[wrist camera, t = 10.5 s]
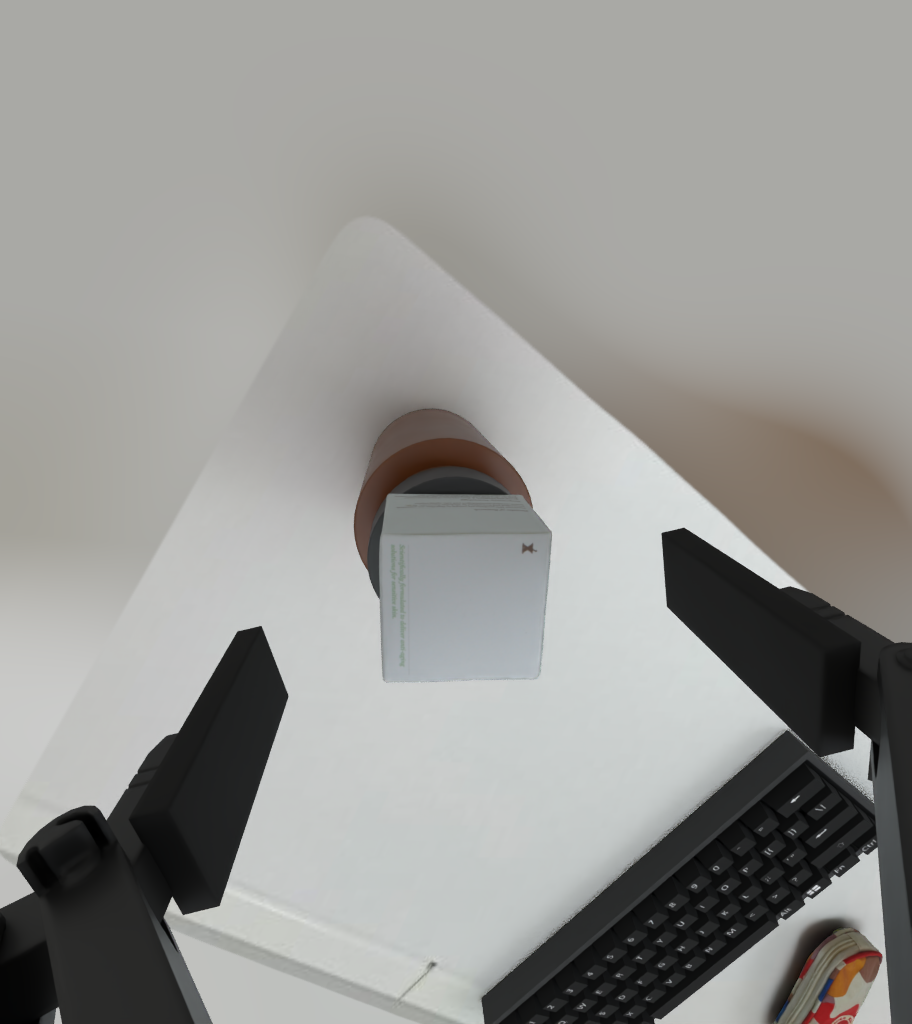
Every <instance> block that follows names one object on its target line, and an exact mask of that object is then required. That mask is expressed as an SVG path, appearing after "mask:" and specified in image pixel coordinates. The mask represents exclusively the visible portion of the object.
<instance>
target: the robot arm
mask: <svg viewBox="0 0 912 1024" xmlns="http://www.w3.org/2000/svg"><path fill="white" fill-rule="evenodd" d="M662 546H663V560H664V573H665V587H666V600H667V607H668V608H669V609H670V610H671V611H672V612H673V613H674V614H675V615H676V616H677V617H678V618H679V619H680V620H681V621H682V622H683V623H684V624H685V625H686V626H687V627H688V628H689V629H690V630H691V631H692V632H693V633H694V634H695V635H696V636H697V637H698V638H699V639H700V640H701V641H702V642H703V643H704V644H705V645H706V646H707V647H708V648H710V649H711V650H712V651H713V652H714V653H715V654H716V655H717V656H718V657H719V658H720V659H721V660H722V661H723V662H724V663H725V664H726V665H727V666H728V667H729V668H730V669H731V670H732V671H733V672H734V673H735V674H736V675H737V676H738V677H739V678H740V679H741V680H742V681H743V682H744V683H745V684H746V685H747V686H748V687H749V688H750V689H751V690H752V691H753V692H754V693H755V694H756V695H757V696H758V697H759V698H760V699H761V700H762V701H763V702H764V703H765V704H766V705H767V706H768V707H769V708H770V709H771V710H772V711H773V712H774V713H775V714H776V715H777V716H778V717H779V718H781V719H782V720H783V721H784V722H785V723H786V724H787V725H788V726H789V727H790V728H791V729H792V730H793V731H794V732H795V733H796V734H797V735H798V736H799V737H800V738H801V739H802V740H803V741H804V742H805V743H806V744H807V745H808V746H809V747H810V748H811V749H812V750H813V751H814V752H815V753H816V754H817V755H818V756H819V757H822V756H826V755H830V754H834V753H838V752H842V751H846V750H851V749H853V748H854V735H855V726H856V727H857V728H858V729H859V730H861V731H862V732H863V733H864V734H865V735H867V736H868V737H869V738H870V739H871V750H870V761H869V773H868V780H871V781H873V794H874V807H875V819H876V832H877V845H878V858H879V871H880V884H881V896H882V909H883V922H884V935H885V948H886V961H887V973H888V986H889V999H890V1012H891V1024H912V643H905V642H904V643H903V642H901V643H894V642H892V641H890V640H889V639H887V638H886V637H884V636H882V635H880V634H879V633H877V632H876V631H874V630H872V629H871V628H869V627H867V626H866V625H864V624H862V623H860V622H859V621H857V620H856V619H854V618H852V617H850V616H849V615H845V614H844V612H842V611H841V610H839V609H837V608H836V607H834V606H832V607H831V606H830V604H829V603H827V602H826V601H824V600H823V599H821V598H819V597H818V596H816V595H814V594H812V593H809V592H806V591H803V590H800V589H797V588H794V587H791V586H790V587H786V588H782V589H779V588H777V587H775V586H774V585H772V584H771V583H769V582H768V581H766V580H765V579H763V578H761V577H760V576H758V575H757V574H755V573H754V572H752V571H751V570H749V569H748V568H746V567H744V566H743V565H741V564H740V563H738V562H737V561H735V560H734V559H732V558H730V557H729V556H727V555H726V554H724V553H723V552H721V551H720V550H718V549H716V548H715V547H713V546H712V545H710V544H709V543H707V542H706V541H704V540H702V539H701V538H699V537H698V536H696V535H695V534H693V533H692V532H690V531H689V530H687V529H685V528H681V529H677V530H673V531H668V532H664V533H662ZM287 699H288V693H287V691H286V688H285V686H284V683H283V680H282V678H281V675H280V673H279V670H278V668H277V665H276V662H275V660H274V657H273V655H272V652H271V649H270V647H269V644H268V642H267V639H266V636H265V634H264V631H263V629H262V626H259V627H255V628H251V629H247V630H242V631H238V632H237V633H236V635H235V637H234V639H233V640H232V642H231V644H230V645H229V647H228V649H227V651H226V652H225V654H224V656H223V657H222V659H221V661H220V663H219V664H218V666H217V668H216V669H215V671H214V673H213V675H212V676H211V678H210V680H209V681H208V683H207V685H206V687H205V688H204V690H203V692H202V693H201V695H200V697H199V699H198V700H197V702H196V704H195V705H194V707H193V709H192V711H191V712H190V714H189V716H188V717H187V719H186V721H185V723H184V724H183V726H182V728H181V729H180V731H179V733H177V734H172V735H168V736H166V737H165V738H164V739H163V740H162V741H161V742H160V743H159V744H158V745H157V746H156V747H155V748H154V749H153V750H152V751H151V752H150V753H149V754H148V755H147V757H146V758H145V760H144V762H143V763H142V765H141V766H140V768H139V770H138V774H136V775H135V776H134V778H133V779H132V781H131V782H130V784H129V788H128V789H126V790H125V792H124V794H123V795H122V797H121V798H120V800H119V802H118V803H117V805H116V806H115V808H114V809H113V811H112V813H111V814H110V816H109V817H108V819H107V821H106V819H105V818H104V816H103V814H102V813H101V811H100V810H99V809H98V808H97V807H96V806H82V807H79V808H76V809H72V810H70V811H68V812H66V813H64V814H62V815H61V816H59V817H57V818H55V819H54V820H52V821H51V822H50V823H48V824H47V825H46V826H44V827H43V828H42V829H40V830H39V831H38V832H37V833H36V834H35V835H34V836H33V837H32V838H31V839H30V840H29V841H28V842H27V844H26V845H25V847H24V848H23V850H22V851H21V853H20V854H19V856H18V861H17V867H18V869H19V870H20V871H21V873H22V875H23V876H24V877H25V879H26V880H27V882H28V883H29V884H30V886H31V887H32V889H33V890H34V892H33V893H32V894H30V895H27V896H25V897H23V898H21V899H19V900H17V901H15V902H13V903H11V904H9V905H7V906H5V907H3V908H1V909H0V1024H54V1019H55V1012H56V1008H57V1007H59V1009H60V1015H61V1019H62V1024H213V1023H212V1021H211V1019H210V1017H209V1014H208V1012H207V1010H206V1008H205V1006H204V1003H203V1001H202V999H201V997H200V994H199V992H198V990H197V988H196V986H195V983H194V981H193V979H192V977H191V974H190V972H189V970H188V968H187V965H186V963H185V961H184V959H183V957H182V954H181V952H180V950H179V947H178V945H177V943H176V941H175V939H174V936H173V934H172V932H171V930H170V927H169V926H168V924H167V922H166V921H165V919H164V914H165V912H166V910H167V907H168V905H169V903H170V900H171V898H172V897H173V898H174V900H175V902H176V903H177V905H178V907H179V909H180V910H181V912H182V914H183V915H185V914H189V913H193V912H197V911H201V910H205V909H209V908H213V907H217V906H220V903H221V900H222V897H223V894H224V891H225V888H226V885H227V882H228V879H229V875H230V872H231V869H232V866H233V863H234V860H235V857H236V854H237V851H238V848H239V845H240V842H241V839H242V836H243V833H244V830H245V827H246V824H247V821H248V818H249V815H250V812H251V809H252V806H253V803H254V800H255V797H256V794H257V791H258V787H259V784H260V781H261V778H262V775H263V772H264V769H265V766H266V763H267V760H268V757H269V754H270V751H271V748H272V745H273V742H274V739H275V736H276V733H277V730H278V727H279V724H280V721H281V718H282V715H283V712H284V709H285V706H286V702H287Z"/></svg>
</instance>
